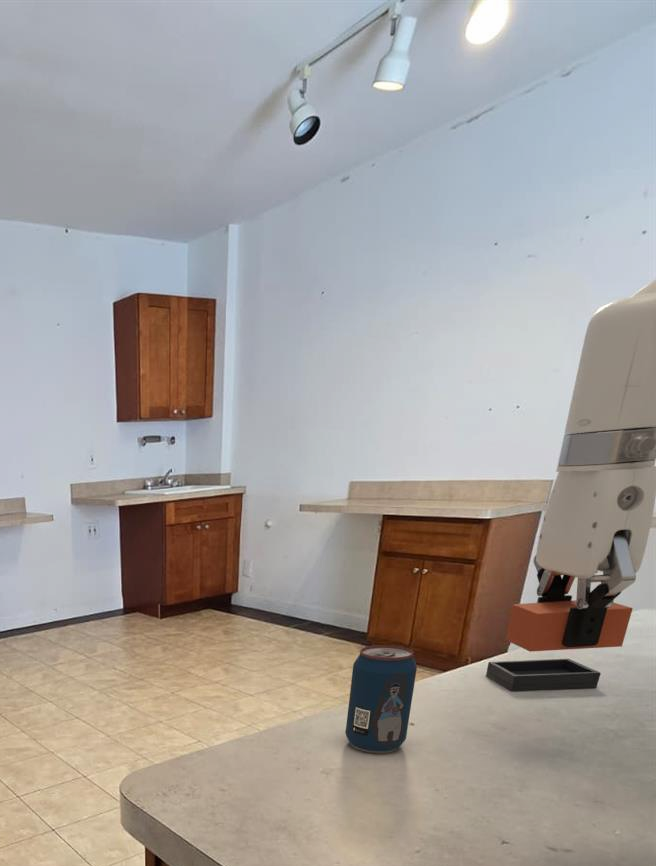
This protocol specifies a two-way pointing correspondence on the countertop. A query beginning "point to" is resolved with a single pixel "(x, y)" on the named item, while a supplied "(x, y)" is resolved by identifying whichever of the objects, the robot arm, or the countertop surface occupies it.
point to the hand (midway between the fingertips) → (562, 637)
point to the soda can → (380, 698)
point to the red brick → (560, 625)
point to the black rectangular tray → (542, 674)
